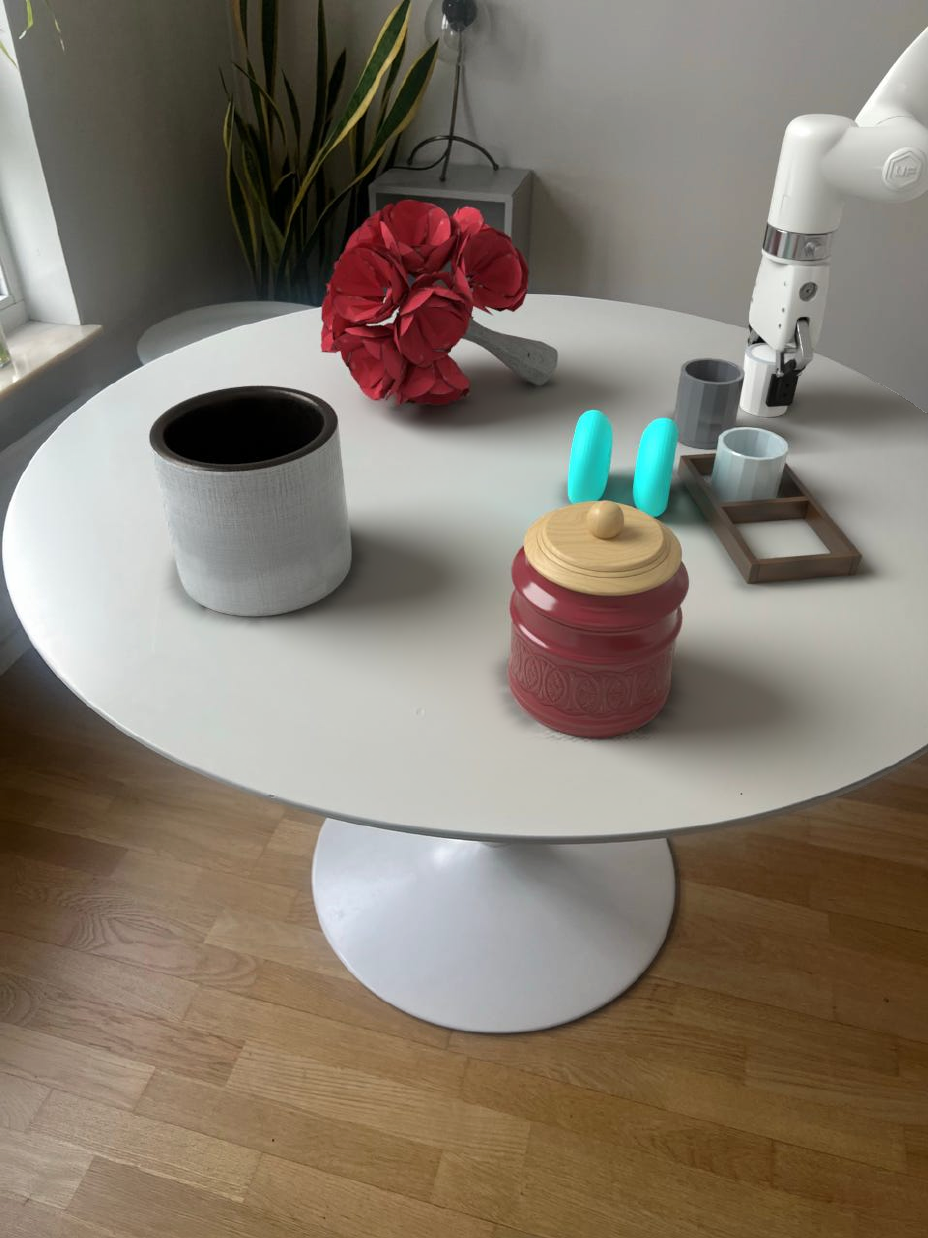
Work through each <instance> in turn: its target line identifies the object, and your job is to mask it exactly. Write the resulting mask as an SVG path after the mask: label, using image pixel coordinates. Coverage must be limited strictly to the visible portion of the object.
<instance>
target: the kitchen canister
mask: <svg viewBox="0 0 928 1238" xmlns="http://www.w3.org/2000/svg"><path fill="white" fill-rule="evenodd" d="M679 540H680V539H679V538H678V537H677V535H676V534H675V533H674V532H673V531H672V530H671V529H670V527H669V526H667V525H666V524H664V523H663V522H662V521H660V520H659V519H658V518H656V517H651V516H649V515H648V514H646V513H645V512H643V511H641V510H639V509H637V507H634V506H631V505H628V504H624V503H620V502H614V501H611V500H599V501H588V502H580V503H576V504H572V503H571V504H569V505H566V506H564V507H561V508H557V509H555V510H552V511H550V512H547V513H546V514H543V515H542V516H540V517H539V518H537V519H536V520H535V521H534V522H533V523H532V524H531V525H530V526H529V527H528V529H527V530H526V533H525V536H524V539H523V544H522V545H521V546H520V548H519V549H518V550H517V552H516V554H515V555H514V557H513V560H512V563H511V567H510V576H511V580H512V581H511V582H512V584H513V586H514V589H513V591H512V593H511V596H510V600H509V614H510V618H511V624H510V625H511V626H510V627H511V629H510V650H509V654H508V658H507V667H506V668H507V671H506V673H507V674H506V677H507V683H508V687H509V689H510V692H511V694H512V696H513V699H514V701H515V702H516V703H517V704H518V706H519V707H520V709H521V710H522V711H523V712H524V713H526V714H527V715H528V716H529V717H530V718H531V719H532V720H534V721H535V722H537V723H539V724H540V725H542V726H544V727H546V728H548V729H551V730H553V731H556V732H559V733H562V734H565V735H568V736H573V737H579V738H586V739H587V738H588V739H589V738H590V739H591V738H592V739H604V738H611V737H619V736H622V735H625V734H628V733H632V732H634V731H636V730H638V729H640V728H642V727H644V726H645V725H647V724H648V723H650V722H651V721H652V720H653V719H654V718H655V717H656V716H657V715H658V714H659V713H660V711H661V710H662V709H663V707H664V706H665V704H666V702H667V699H668V697H669V694H670V688H671V684H672V664H673V660H674V655H675V654H674V653H675V649H676V644H677V639H678V637H679V635H680V633H681V629H682V626H683V619H684V617H683V609H682V604H683V603H684V601H685V599H686V597H687V596H688V592H689V589H690V577H689V573H688V570H687V568H686V565H685V563H684V562H683V561H682V560H683V549H682V545H681V542H680V541H679Z"/></svg>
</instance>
